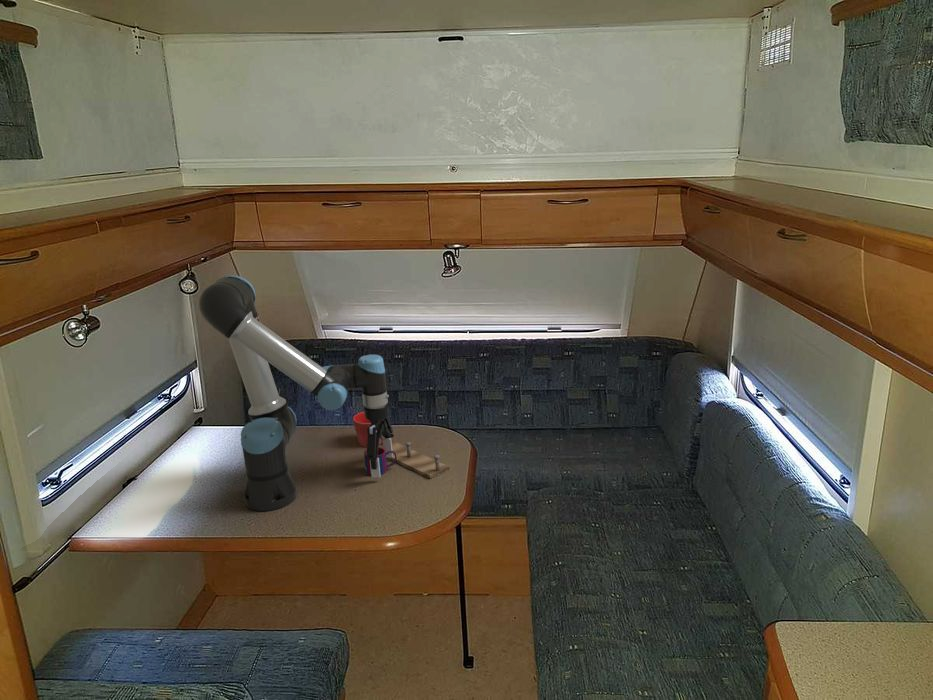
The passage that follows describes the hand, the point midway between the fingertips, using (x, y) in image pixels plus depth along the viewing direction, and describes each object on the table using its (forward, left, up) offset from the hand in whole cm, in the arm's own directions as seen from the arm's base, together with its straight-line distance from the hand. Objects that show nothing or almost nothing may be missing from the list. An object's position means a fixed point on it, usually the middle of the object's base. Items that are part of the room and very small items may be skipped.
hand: (382, 467), depth 214 cm
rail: (+7, +8, -1) cm, 10 cm away
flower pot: (-10, +20, -1) cm, 23 cm away
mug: (0, 0, -2) cm, 2 cm away
